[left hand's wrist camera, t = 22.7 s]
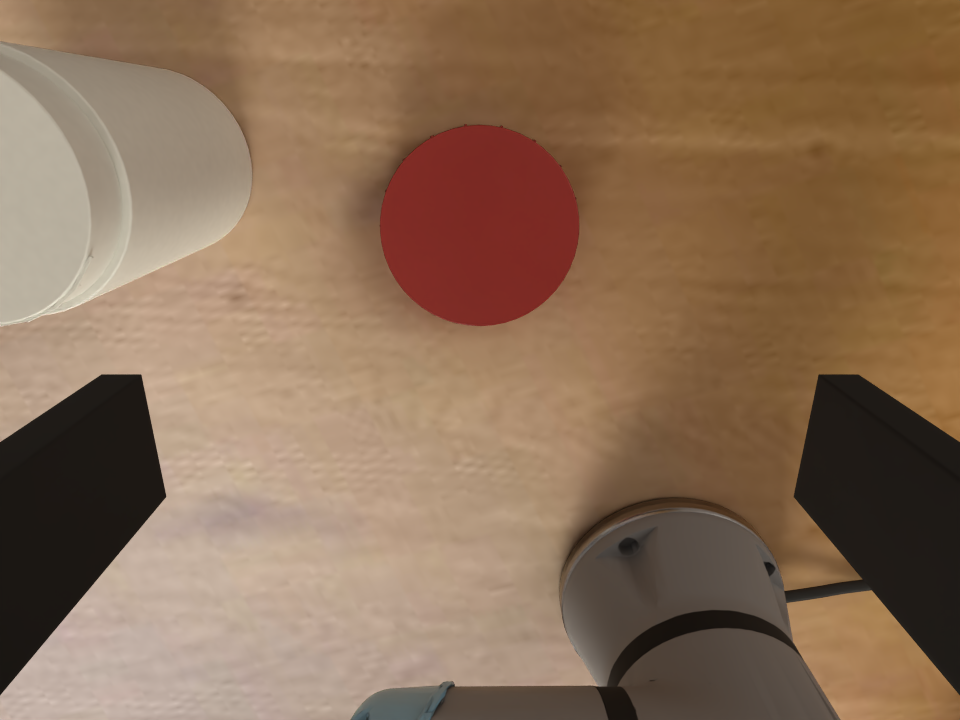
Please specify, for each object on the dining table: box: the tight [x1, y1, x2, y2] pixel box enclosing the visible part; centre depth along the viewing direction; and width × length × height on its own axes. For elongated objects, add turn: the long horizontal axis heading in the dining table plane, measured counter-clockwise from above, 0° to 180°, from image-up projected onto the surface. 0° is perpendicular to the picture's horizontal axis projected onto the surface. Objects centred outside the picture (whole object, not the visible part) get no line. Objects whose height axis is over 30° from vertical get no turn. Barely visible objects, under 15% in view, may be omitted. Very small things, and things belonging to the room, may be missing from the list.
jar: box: [0, 41, 252, 326], centre depth 28 cm, size 10×10×15 cm
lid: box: [380, 124, 579, 326], centre depth 35 cm, size 11×11×2 cm
